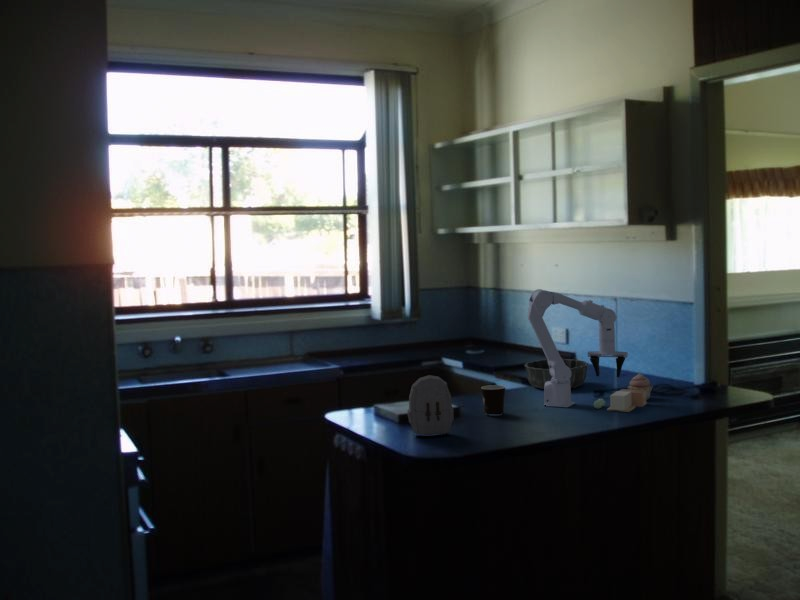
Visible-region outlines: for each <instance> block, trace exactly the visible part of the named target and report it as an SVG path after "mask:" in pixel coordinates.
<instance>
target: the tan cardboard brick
mask: <svg viewBox="0 0 800 600" xmlns="http://www.w3.org/2000/svg"><path fill="white" fill-rule="evenodd" d="M619 391H626V392H631V401H632V405H631V406H635V407H644V406H646V405H647V400H646V390H629V389H628V388H627V389H626V388H625V389H624V388H622V389H621V388H620V390H619Z"/></svg>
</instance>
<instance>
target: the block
mask: <svg viewBox="0 0 800 600" xmlns="http://www.w3.org/2000/svg"><path fill="white" fill-rule="evenodd" d="M609 399H610V401H609V403H610V406H609V407H611V409H613V410H626V409H627V408H629V407H630V406H631V405H632V401H631V392H626V391H620V390H617V391H615V392H613V393H612V394H610V395H609Z"/></svg>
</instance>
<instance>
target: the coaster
mask: <svg viewBox="0 0 800 600" xmlns="http://www.w3.org/2000/svg"><path fill="white" fill-rule="evenodd" d="M636 407H637V406H630V407H629V408H627V409H626V410H613V409H611V406H609V407H608V408H607V409H606V411H611V412H622V413H623V412H624V413H625V412H627V413H630V412H631V411H633V410H634V409H636Z"/></svg>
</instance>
